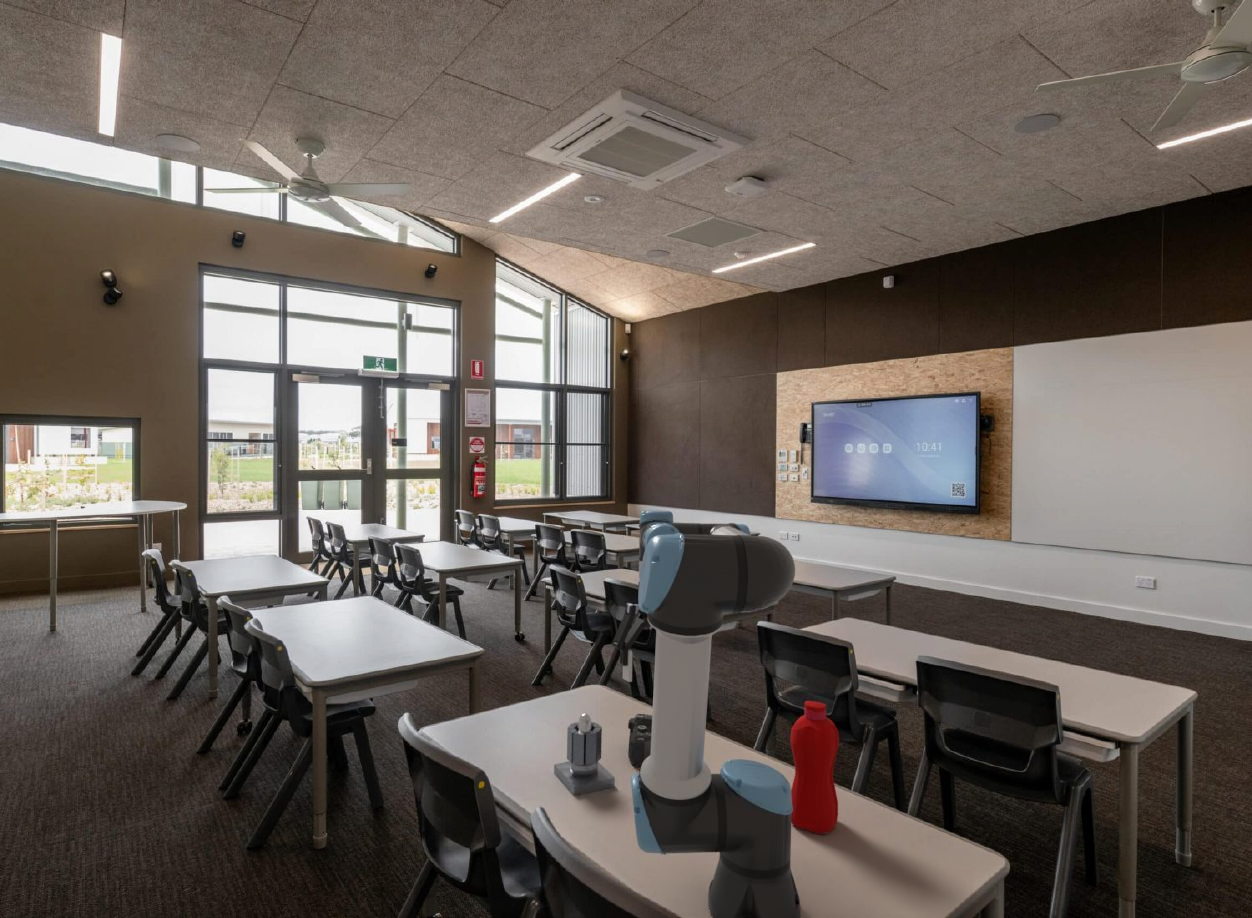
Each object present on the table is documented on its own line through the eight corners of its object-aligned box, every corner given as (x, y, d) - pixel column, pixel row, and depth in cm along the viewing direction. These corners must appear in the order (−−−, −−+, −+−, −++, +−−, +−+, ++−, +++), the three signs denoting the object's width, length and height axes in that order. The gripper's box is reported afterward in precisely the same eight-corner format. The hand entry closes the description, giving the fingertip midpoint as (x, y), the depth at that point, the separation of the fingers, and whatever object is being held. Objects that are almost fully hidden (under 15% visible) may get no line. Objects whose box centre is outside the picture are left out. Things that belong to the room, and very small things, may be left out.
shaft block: (614, 786, 156) (615, 719, 156) (574, 795, 151) (575, 726, 151) (592, 764, 167) (593, 702, 166) (554, 772, 162) (555, 708, 162)
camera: (671, 764, 168) (671, 723, 168) (632, 769, 165) (633, 728, 164) (651, 742, 180) (652, 704, 180) (615, 747, 177) (616, 708, 177)
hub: (605, 761, 157) (606, 730, 157) (575, 767, 154) (576, 736, 154) (592, 748, 164) (592, 719, 164) (562, 754, 161) (563, 724, 160)
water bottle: (842, 815, 145) (845, 697, 145) (829, 840, 136) (832, 714, 135) (799, 803, 150) (802, 689, 150) (784, 826, 140) (786, 704, 140)
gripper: (691, 574, 162) (690, 664, 161) (597, 580, 149) (596, 678, 149) (710, 578, 155) (709, 673, 155) (614, 586, 143) (612, 688, 142)
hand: (653, 676), depth 152 cm, fingers open, 13 cm apart
